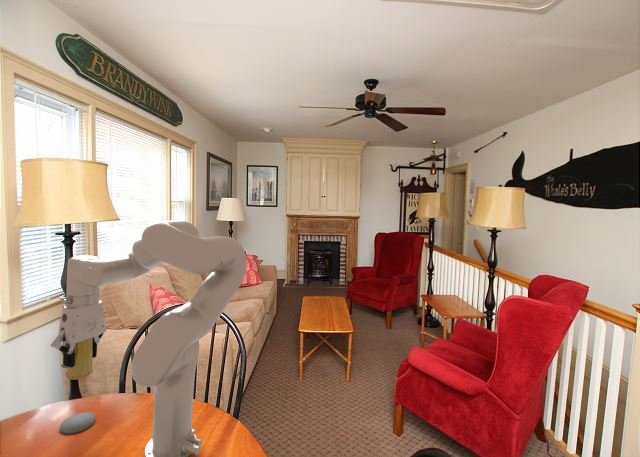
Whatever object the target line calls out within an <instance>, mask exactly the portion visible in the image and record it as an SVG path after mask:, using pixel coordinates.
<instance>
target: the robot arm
mask: <svg viewBox="0 0 640 457" xmlns="http://www.w3.org/2000/svg"><path fill="white" fill-rule="evenodd" d="M131 248H132V250H131V251H132V252H130V253H127V254H126V255H121V256H113V257H105V258H100V257H98V256H96V255H95V256H94V255H76V256H72V257H70V258H69V259H68V260H67V269H66V270H67V272H66V273H67V274H66V294H65V299H62V301H61V304H62V305H65V306H63V307H62V308H63V309H62V311H61V315H60V319H59V320H60V321H59V326H58V335H57V336H56V337H55V339H54V340H53V341H52V343H50V347H51V348H53V349H55V350H57V351H59V352H61V353H63V356H62V363H63V364H62V365H63V366H64V367H70V368H72V367H74V362H75V353H73V350H74V347H75V344H76V343H79V342H82V341H85V340H87V339H90V338H93V347H92V350H93V356H92V359H94V358H97V354H98V344H99V343H100V340H101V338H102V337H103V336H104V334H105V333H106V331H107V330H108V328H109V327H108V325H106V324H105V311H104V306H103V301H102V300H100V288H101V287H106V286H110V285H114V284H118V283H124V282H127V281H131V280H133V279H136V278H138V277H140V276H143V275H145V274H147V273H149V272H151V271H153V270H154V269H155V268H156V267H157V266H159V265H162V264H164V263H165V264H168V265H170V266H172V267H174V268H177V269H179V270H182V271H184V272H186V273H188V274H192V275H196V276H197V275H198V276H200V275H201V276H202V275H207V274H209V275H207V277H206V278H205V279H204V280H203V281H202V282H201V283H200V285H199V286H198V288H197V290H196V291H195V293H194V294H193V296H192V297H191V298H190V299H189V300H188V302H185V303H184V304H182V305H181V306H178V307H175V308H174V309H171V310H169V311H167V312H165V313H164V314H162V315H161V316H160V317H159V318H158V319H157V320H155V322H154V324H153V325H152V327H151V328H150V329H149V331H148V333H147V334H146V336H145V337H144V338H143V340H142V342H141V344H140V345H139V346H138V348H137V349H136V351H135V352H134V354H133V357H132V359H131V363H130V373H131V377H132V379H133V380H134V382H135V383H136V384H137V385H138V386H141V387H146V388H151V387H154V394H153V395H154V396H153V397H154V398H153V416H152V431H151V432H152V435H151V437H152V438H151V439H150V440H149V441H148V443H147V444H146V446H145V448H144V457H189V456H191V455H192V454H193V455H195V456H198V455H199V453H200V452H201V448H202V447H201V445H202V443H203V439H201V438H198V437H197V435H196V430H195V428H192V426H193V407H194V406H193V405H194V393H195V391H194V388H195V377H196V370H197V364H198V360H199V357H200V348H201V347H200V340H201V339H203V338H204V337H205V336H207V335H208V334H209V333H210V332H211V330H212V329H213V327H214V326H215V324H216V323H217V321H218V320H219V318H220V317H221V315H222V313H223V312H224V311H225V309H226V308H227V306H228V304H229V303H230V302H231V300H232V299H233V297H234V295H236V293H237V292H238V290H239V289H240V287H241V284H242V283H243V280H244V279H245V276H246V273H247V264H248V261H247V260H248V259H247V256H246V255H247V254H246V252H245V249H244V248H243V246H242V244H241V243H240V242H239V241H238V240H236V239H235V238H234V237H230V236H220V235H218V236H211V237H200V233H199V230H198V228H197V227H196V226H195V225H194V224H193V223H191V222H188V221H186V220H158V221H155V222H154V221H153V222H152V223H150V224H149V225H148V226H146V228H145V229H143V232H142V235H141V237H140V238H138V239H137V240H135V241H134V243H133V244H132V247H131ZM62 342H63V344H62ZM69 344H70V345H69Z"/></svg>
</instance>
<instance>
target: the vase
mask: <svg viewBox="0 0 640 457" xmlns="http://www.w3.org/2000/svg"><path fill="white" fill-rule="evenodd" d="M69 345H70V344H69ZM92 347H93V338H90V339H87V340H85V341H82V342H79V343H76V344H75V347H74V350H73V353H75V362H74V367H72V368H70V367H67V366H66V367H67V369H66V379H67V380H73V381H74V380H81V379H84V378H86V377H89V376H90V375H92V374H93V372H94V368H93V358H92V356H93V350H92Z"/></svg>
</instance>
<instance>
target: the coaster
mask: <svg viewBox="0 0 640 457" xmlns="http://www.w3.org/2000/svg"><path fill="white" fill-rule="evenodd" d="M95 421H96V414H94V413H93V412H87V411H86V412H79V413H76V414H73V415H70V416H69V417H67V418H65V419H64V420H63V421H62V422H61V423H60V426H59V430H60V431H59V432H61V433H62V434H66V435H69V434H77V433H80V432H83V431H84V430H87V429H89V428H90V427H91V426H93V424H94V423H95Z"/></svg>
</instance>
